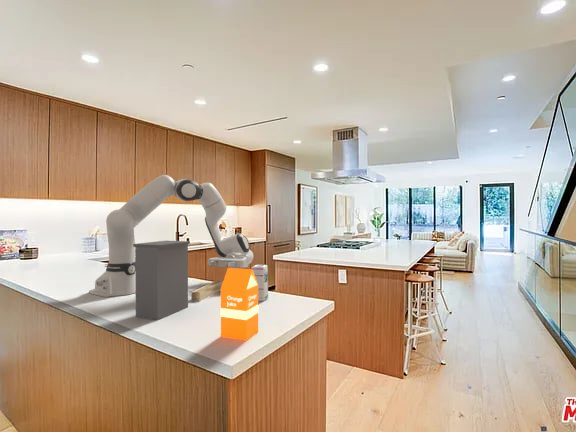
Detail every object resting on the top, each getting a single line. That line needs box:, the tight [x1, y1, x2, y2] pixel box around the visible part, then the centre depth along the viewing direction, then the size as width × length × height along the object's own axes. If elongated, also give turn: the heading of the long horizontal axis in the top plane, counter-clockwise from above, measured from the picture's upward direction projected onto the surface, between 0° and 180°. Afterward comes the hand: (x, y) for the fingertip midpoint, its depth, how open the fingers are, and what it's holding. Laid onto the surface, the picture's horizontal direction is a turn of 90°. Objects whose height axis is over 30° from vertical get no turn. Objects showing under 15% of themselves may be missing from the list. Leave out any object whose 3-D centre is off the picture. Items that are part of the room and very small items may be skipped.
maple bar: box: [190, 280, 224, 302], centre depth 145 cm, size 4×24×4 cm, turn 166°
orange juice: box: [220, 267, 259, 342], centre depth 96 cm, size 8×9×20 cm
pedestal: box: [133, 240, 191, 321], centre depth 118 cm, size 12×16×26 cm
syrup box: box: [250, 264, 269, 302], centre depth 136 cm, size 6×6×14 cm
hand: (218, 264), depth 152 cm, fingers open, 8 cm apart
